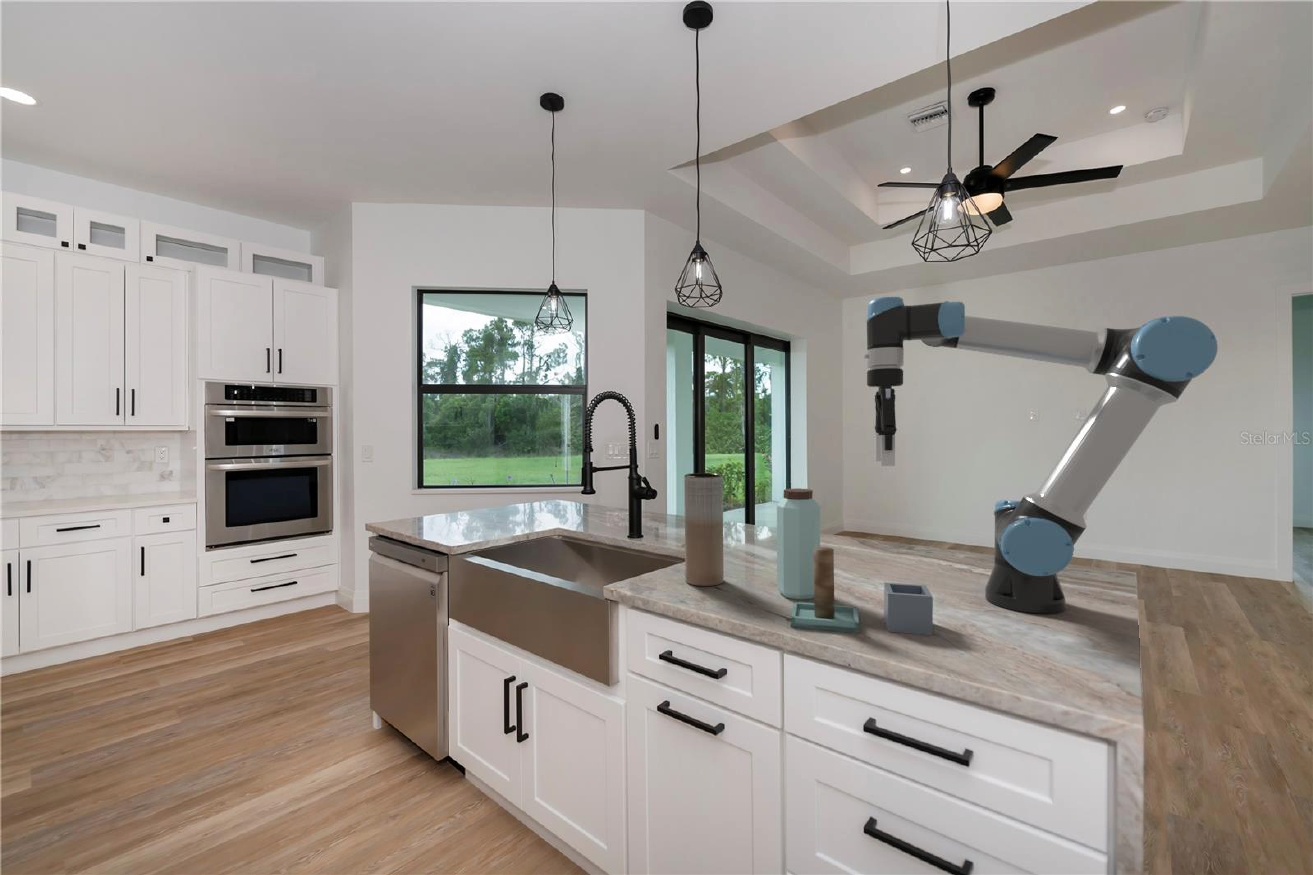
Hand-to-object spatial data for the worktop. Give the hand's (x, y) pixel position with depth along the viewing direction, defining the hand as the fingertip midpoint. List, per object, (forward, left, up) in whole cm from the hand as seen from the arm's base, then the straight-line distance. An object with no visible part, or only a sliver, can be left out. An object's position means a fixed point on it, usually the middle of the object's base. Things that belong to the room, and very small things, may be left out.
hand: (884, 463), depth 128 cm
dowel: (+13, +16, -31) cm, 37 cm away
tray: (+13, +16, -32) cm, 38 cm away
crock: (-3, +14, -32) cm, 35 cm away
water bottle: (+19, -2, -32) cm, 37 cm away
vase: (+43, -7, -32) cm, 54 cm away
